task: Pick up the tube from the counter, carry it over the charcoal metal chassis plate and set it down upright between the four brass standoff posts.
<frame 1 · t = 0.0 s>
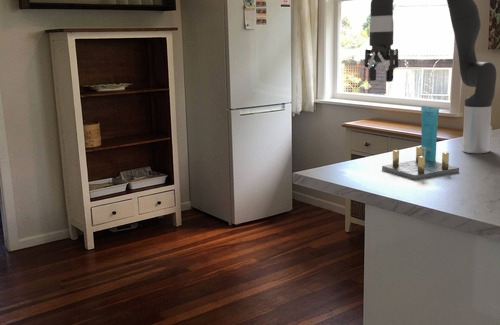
hand: (380, 81, 178), 29 cm above the table, fingers open, 8 cm apart
chassis: (419, 171, 177), on the table
tube: (428, 161, 191), on the table
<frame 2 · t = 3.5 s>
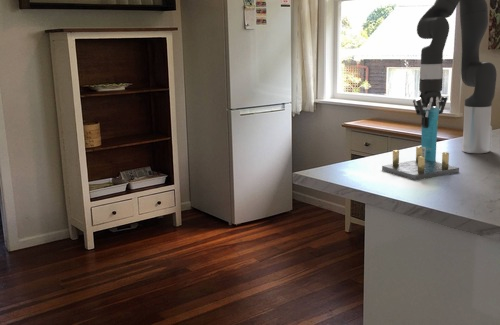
hand: (429, 126, 188), 12 cm above the table, fingers closed on tube, 3 cm apart
tube: (428, 161, 191), on the table, touching gripper
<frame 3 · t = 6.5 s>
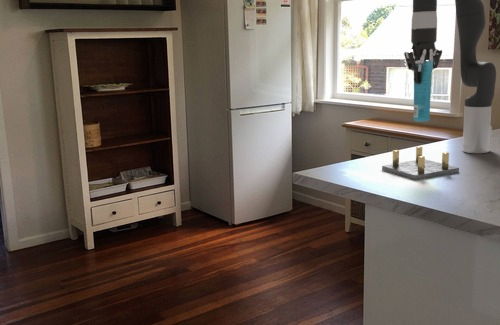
hand: (422, 82, 170), 29 cm above the table, fingers closed on tube, 3 cm apart
tube: (421, 121, 173), point 16 cm above the table, touching gripper
when the fingers open (15 cm above the table, at t = 9.4 s): tube stays where it is, resting on chassis.
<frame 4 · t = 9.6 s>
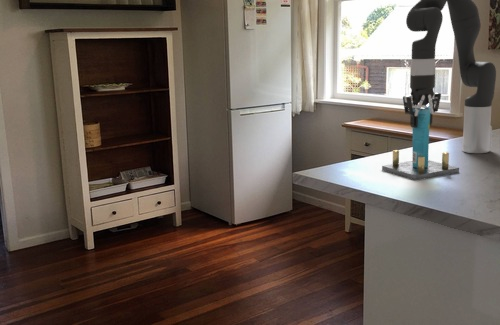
hand: (421, 126, 173), 15 cm above the table, fingers open, 5 cm apart
tube: (420, 167, 176), point 1 cm above the table, touching chassis
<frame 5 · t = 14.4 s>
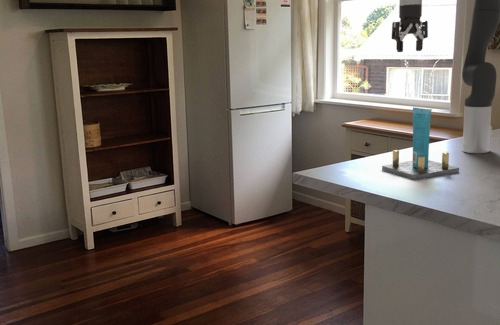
hand: (409, 51, 191), 38 cm above the table, fingers open, 8 cm apart
nothing on the table moved.
at the end: tube 0.2 cm off-centre on the chassis, point 1.3 cm above the chassis's base; tube tilted 0°; the gripper is holding nothing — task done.
